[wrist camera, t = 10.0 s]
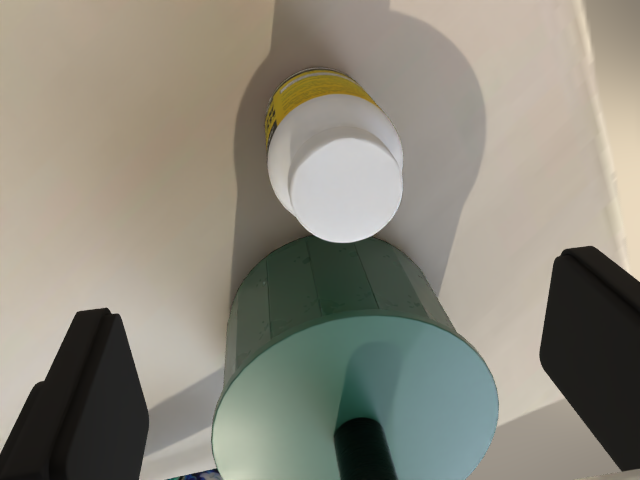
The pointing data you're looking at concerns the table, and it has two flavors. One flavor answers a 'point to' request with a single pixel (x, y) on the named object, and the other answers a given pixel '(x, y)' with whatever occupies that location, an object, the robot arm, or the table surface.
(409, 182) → the table surface
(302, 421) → the pot lid
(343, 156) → the supplement bottle
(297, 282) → the pot
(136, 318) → the table surface
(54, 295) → the table surface
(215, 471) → the knife
